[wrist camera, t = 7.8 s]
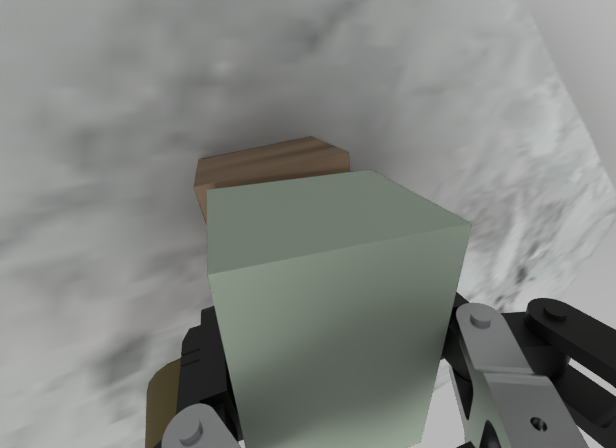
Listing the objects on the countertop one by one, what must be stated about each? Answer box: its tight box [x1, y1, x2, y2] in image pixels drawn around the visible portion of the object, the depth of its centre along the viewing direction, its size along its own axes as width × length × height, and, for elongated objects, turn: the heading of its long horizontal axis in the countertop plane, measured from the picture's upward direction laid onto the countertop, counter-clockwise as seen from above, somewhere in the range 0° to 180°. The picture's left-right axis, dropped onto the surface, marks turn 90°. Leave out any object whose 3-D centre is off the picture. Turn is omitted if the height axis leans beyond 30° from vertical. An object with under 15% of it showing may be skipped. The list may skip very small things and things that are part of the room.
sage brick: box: [207, 170, 472, 448], centre depth 10 cm, size 9×6×5 cm, turn 2°
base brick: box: [194, 136, 350, 225], centre depth 15 cm, size 9×6×5 cm, turn 9°
